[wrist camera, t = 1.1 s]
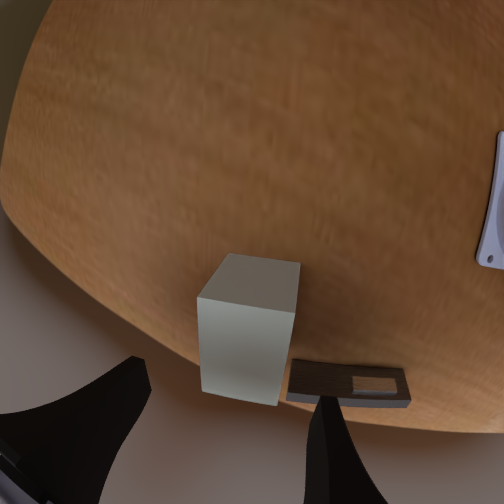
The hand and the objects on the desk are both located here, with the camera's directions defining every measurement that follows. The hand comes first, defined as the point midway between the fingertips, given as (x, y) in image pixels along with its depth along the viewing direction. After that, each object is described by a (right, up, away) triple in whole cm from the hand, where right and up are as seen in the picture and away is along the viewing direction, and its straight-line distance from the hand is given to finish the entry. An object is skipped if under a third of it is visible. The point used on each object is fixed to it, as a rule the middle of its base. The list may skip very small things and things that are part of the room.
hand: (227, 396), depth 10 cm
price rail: (+8, -2, +7) cm, 11 cm away
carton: (+2, +3, +7) cm, 7 cm away
